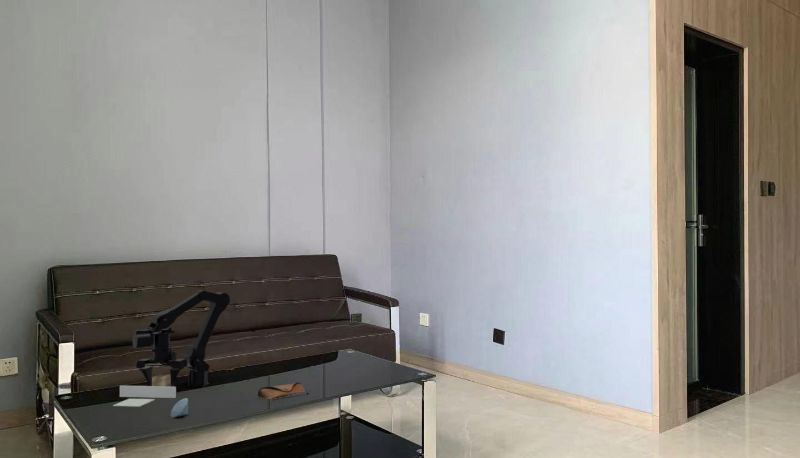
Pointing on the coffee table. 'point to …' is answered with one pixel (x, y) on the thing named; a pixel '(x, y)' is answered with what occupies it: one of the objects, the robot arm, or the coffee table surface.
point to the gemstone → (180, 408)
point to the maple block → (161, 380)
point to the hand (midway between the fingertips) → (161, 385)
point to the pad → (134, 402)
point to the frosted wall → (148, 391)
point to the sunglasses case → (280, 390)
